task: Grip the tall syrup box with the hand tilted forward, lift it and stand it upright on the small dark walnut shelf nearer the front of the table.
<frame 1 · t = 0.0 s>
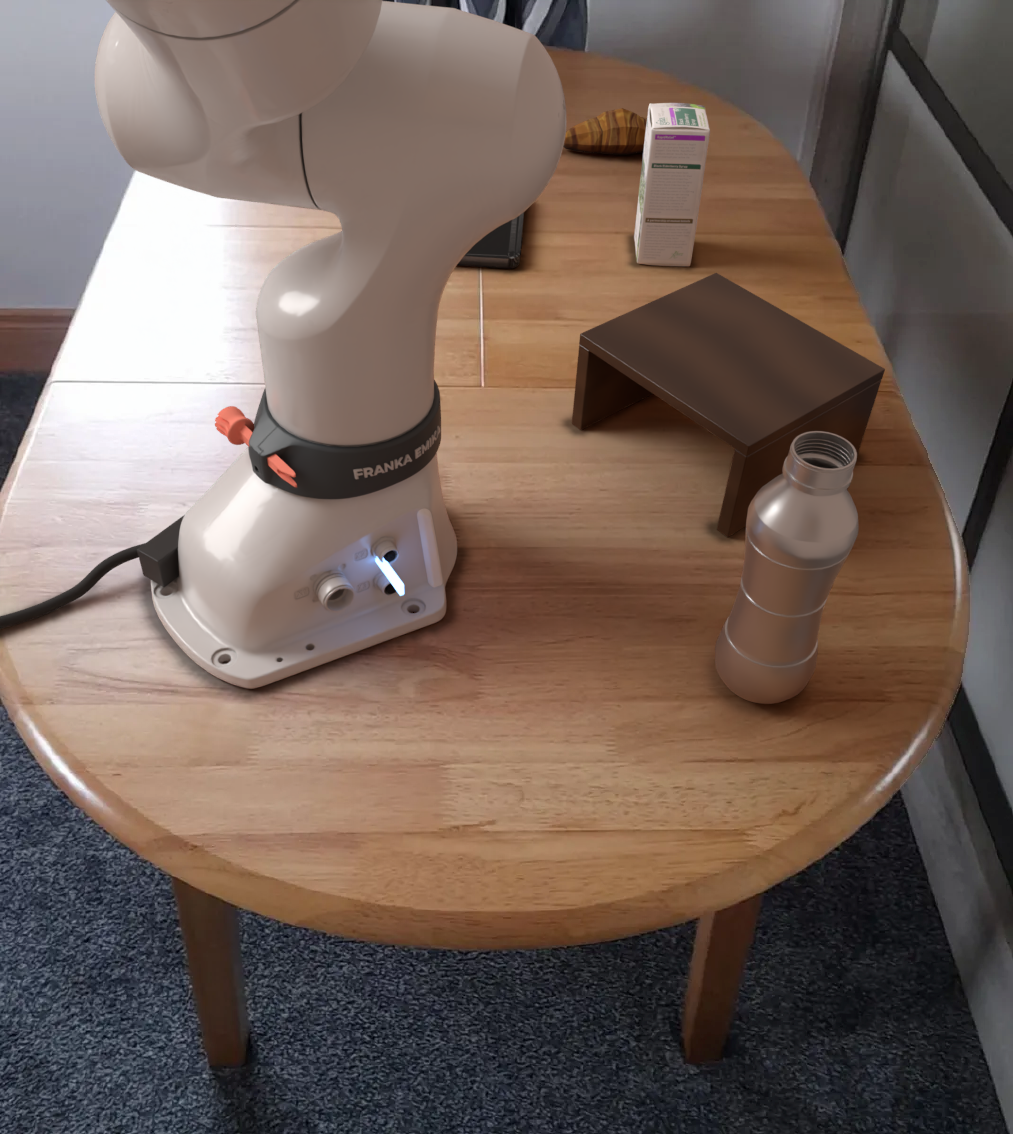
shelf: (712, 440, 98), on the table
syrup box: (660, 254, 121), on the table
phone: (485, 232, 122), on the table
croissant: (617, 151, 138), on the table
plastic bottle: (757, 681, 80), on the table
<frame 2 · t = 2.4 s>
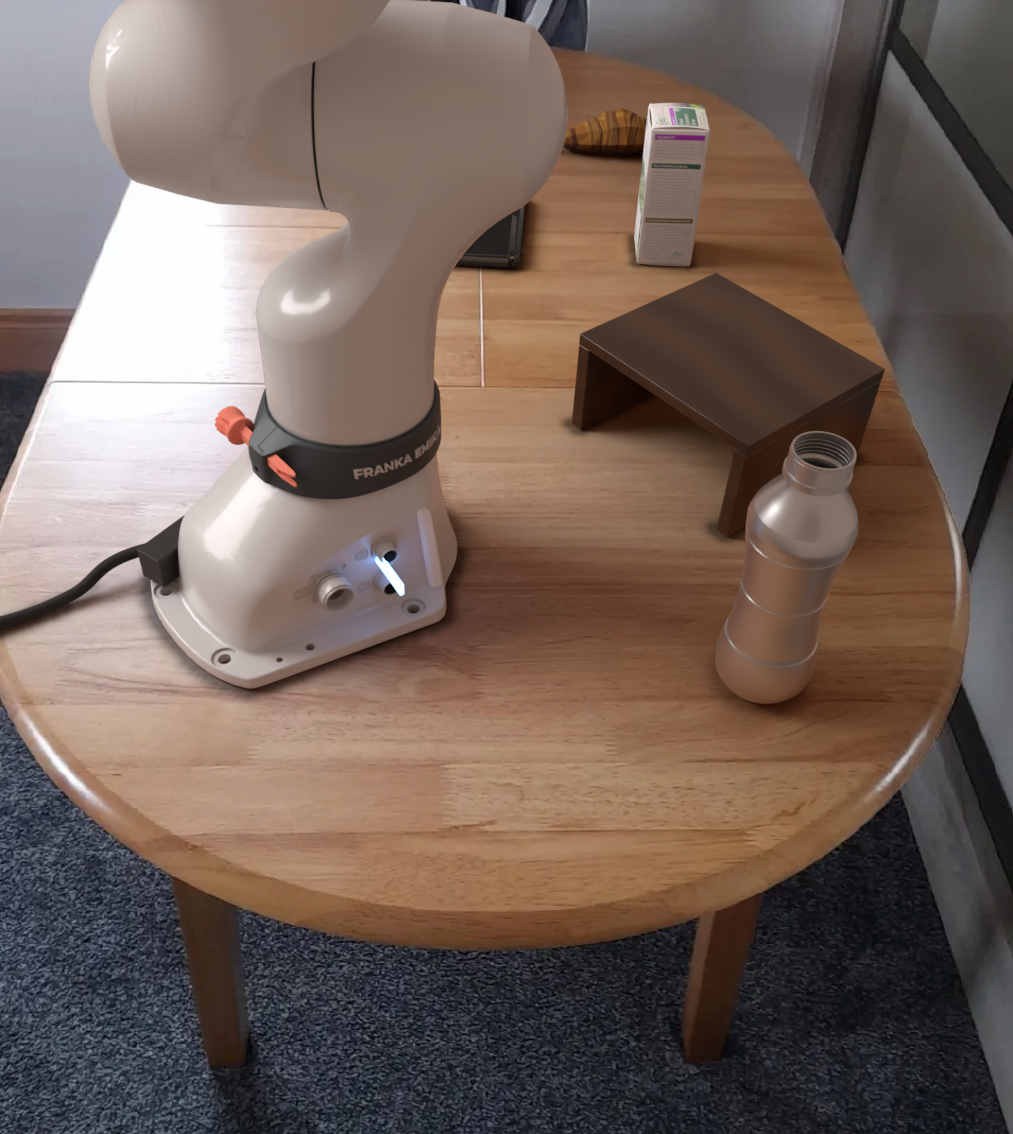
nothing on the table moved.
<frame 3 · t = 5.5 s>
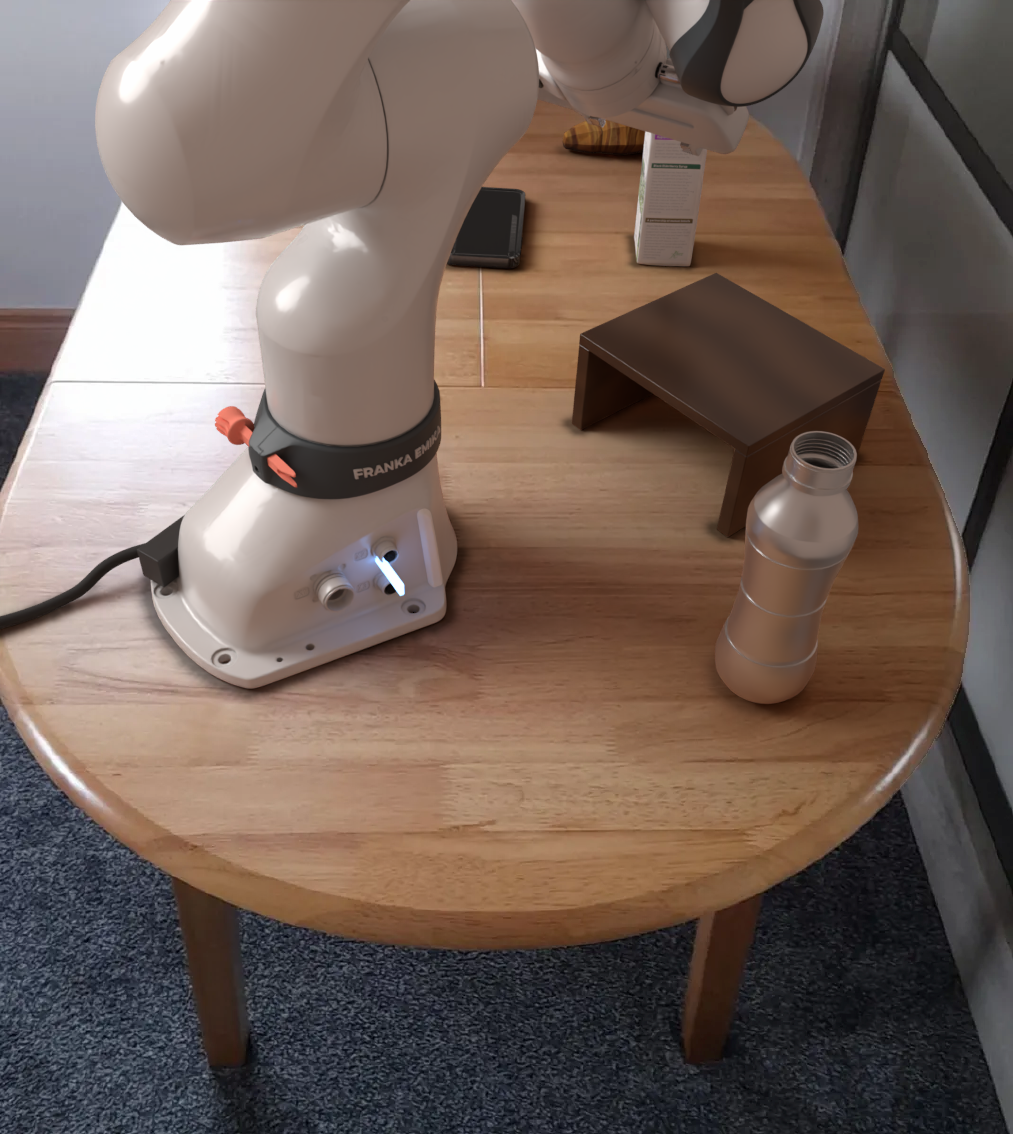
hand: (646, 131, 103), 17 cm above the table, tool tilted 45°, fingers open, 8 cm apart
nothing on the table moved.
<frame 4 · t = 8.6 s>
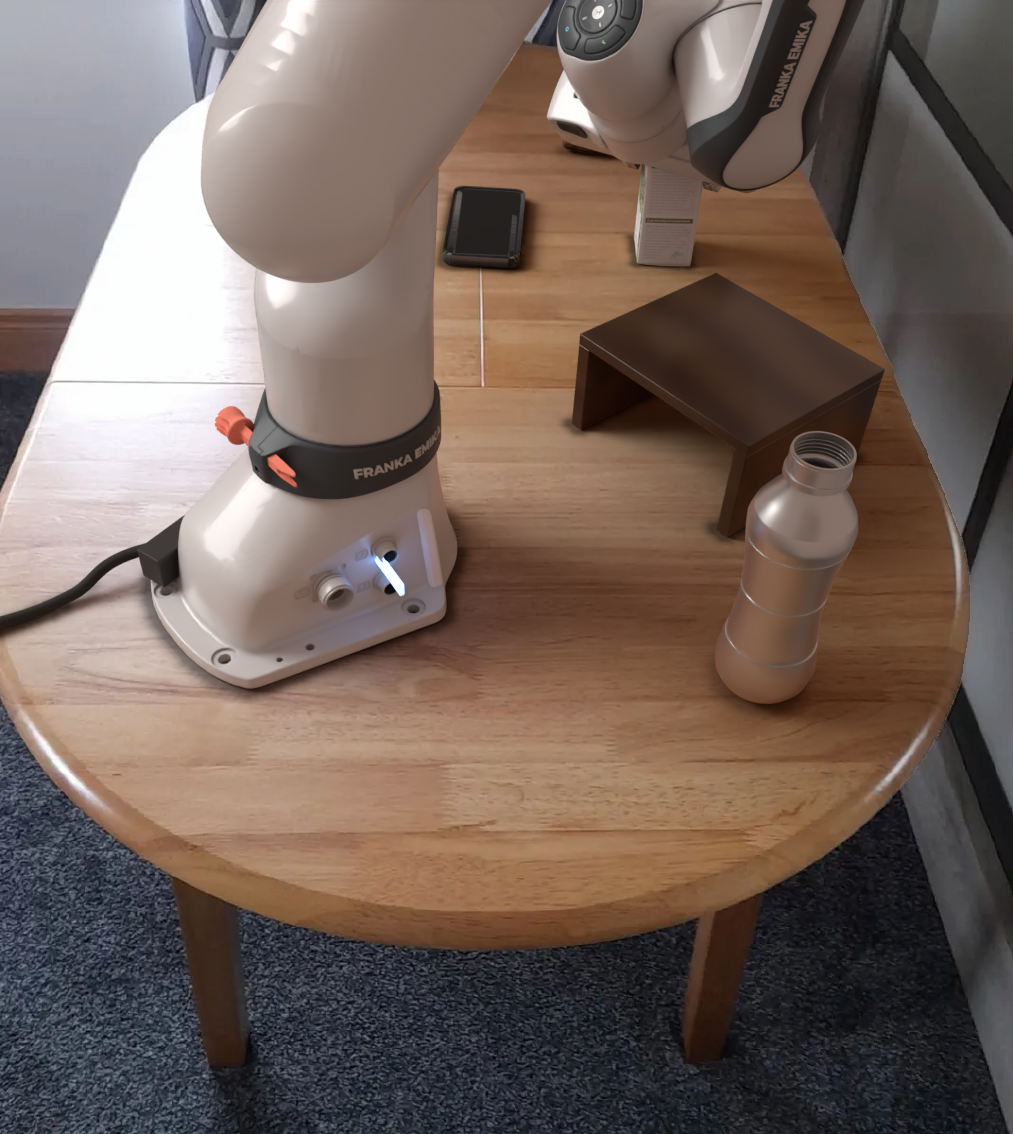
hand: (673, 172, 115), 8 cm above the table, tool tilted 45°, fingers closed on syrup box, 7 cm apart
syrup box: (660, 254, 121), on the table, touching gripper
everything else where it was.
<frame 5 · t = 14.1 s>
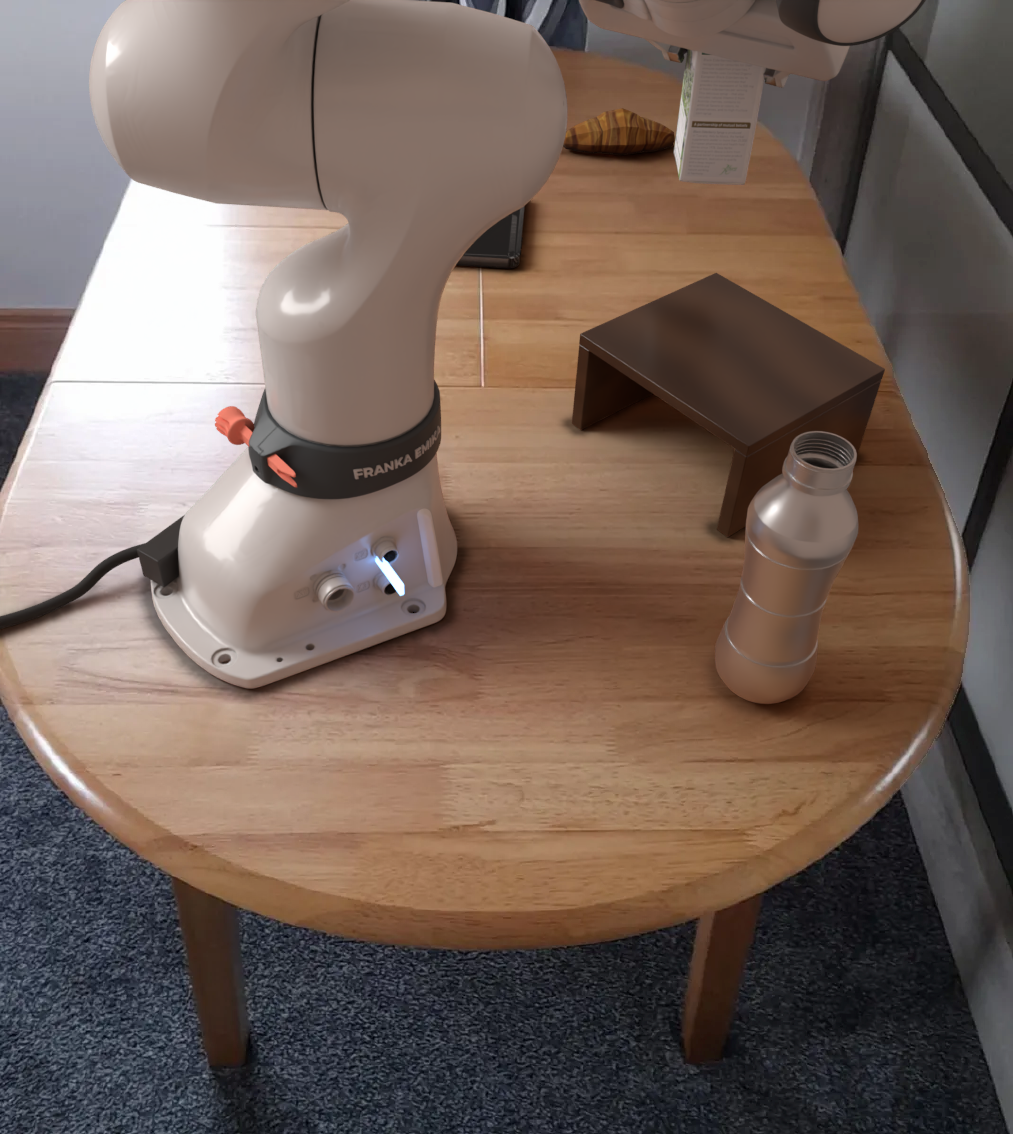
hand: (726, 65, 93), 25 cm above the table, tool tilted 45°, fingers closed on syrup box, 7 cm apart
syrup box: (707, 171, 98), point 16 cm above the table, touching gripper
everything else where it was.
when the fingers open (18 cm above the table, at t = 19.6 s): syrup box stays where it is, resting on shelf.
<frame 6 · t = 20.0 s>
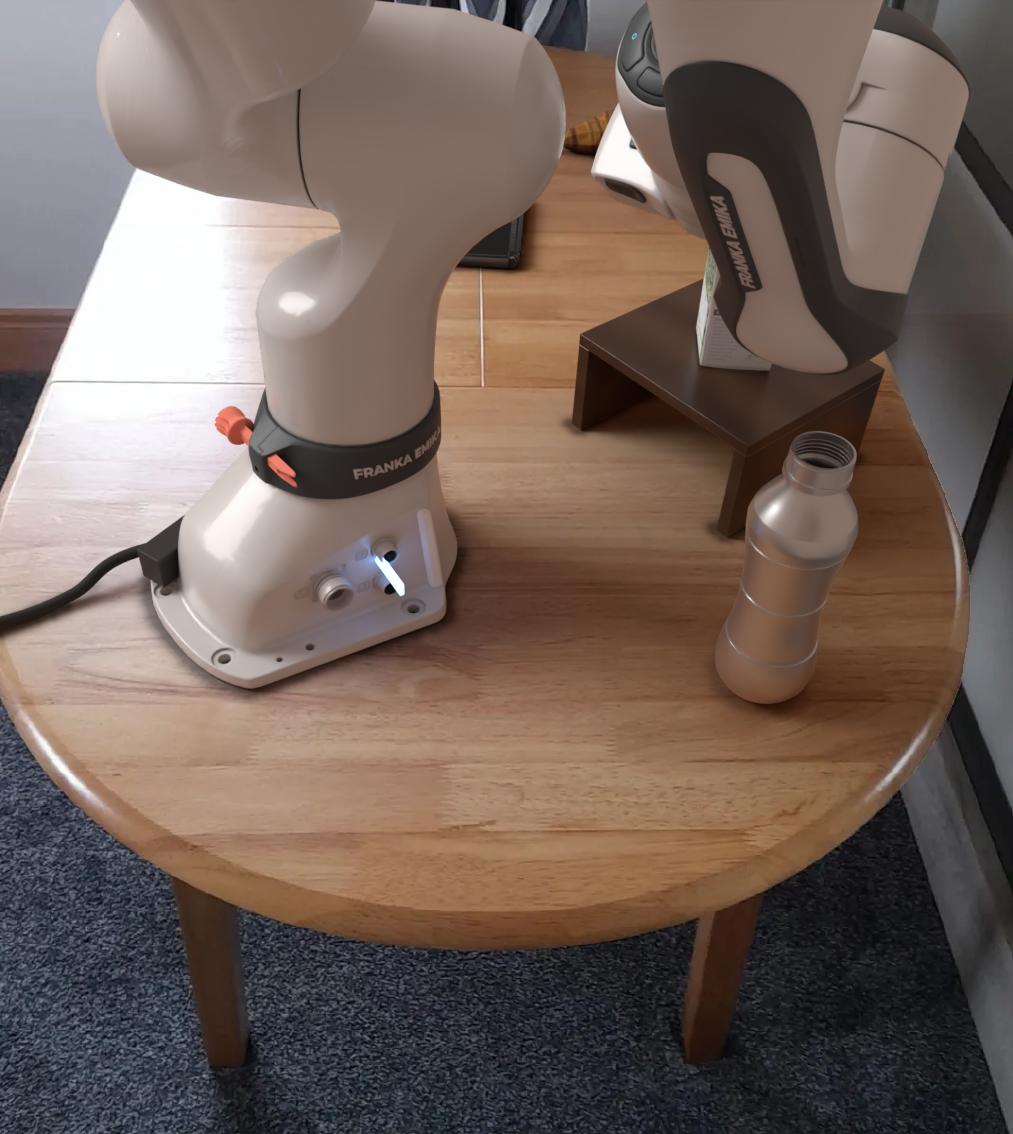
hand: (755, 241, 86), 18 cm above the table, tool tilted 45°, fingers open, 8 cm apart
syrup box: (730, 351, 92), point 9 cm above the table, touching shelf
everything else where it was.
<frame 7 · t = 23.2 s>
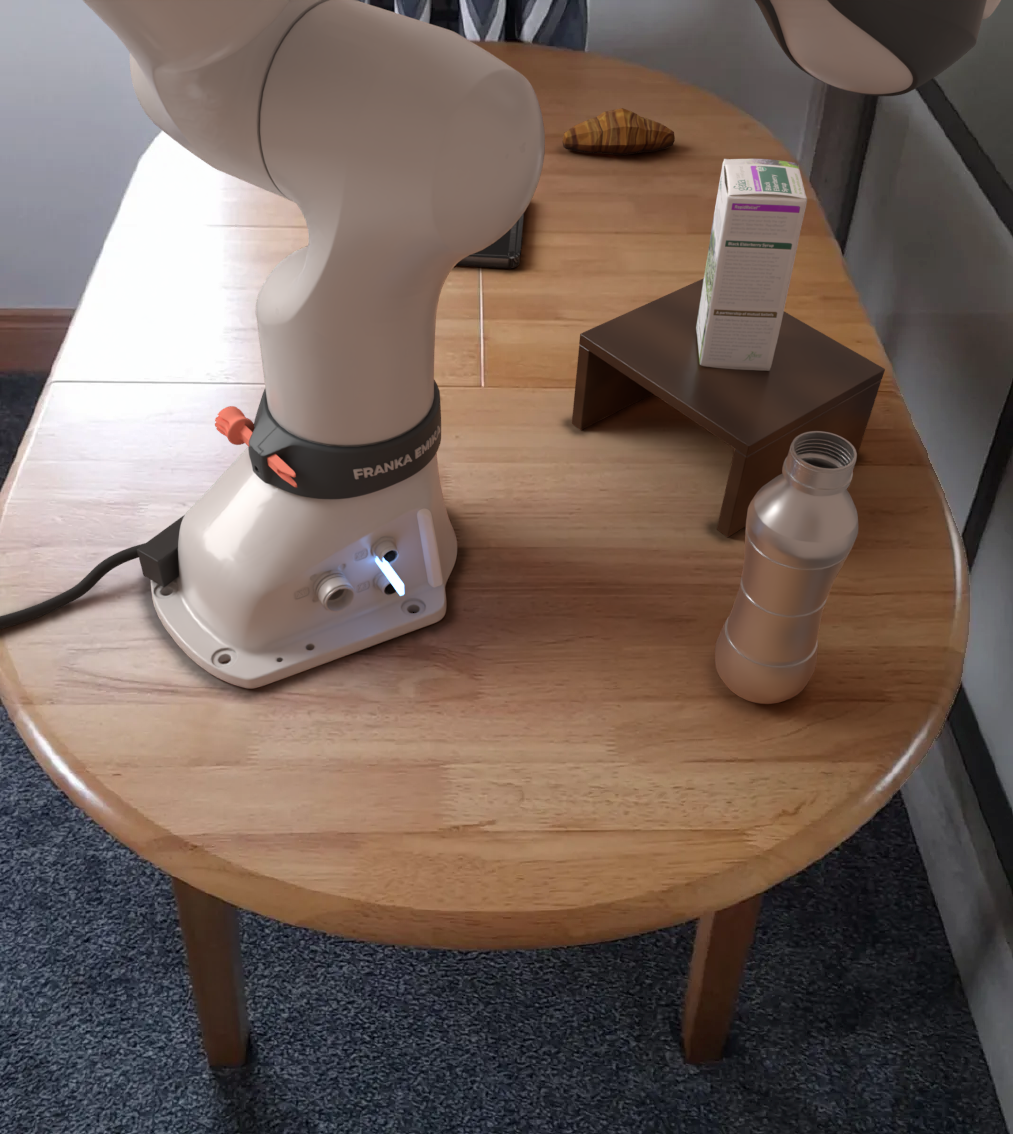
nothing on the table moved.
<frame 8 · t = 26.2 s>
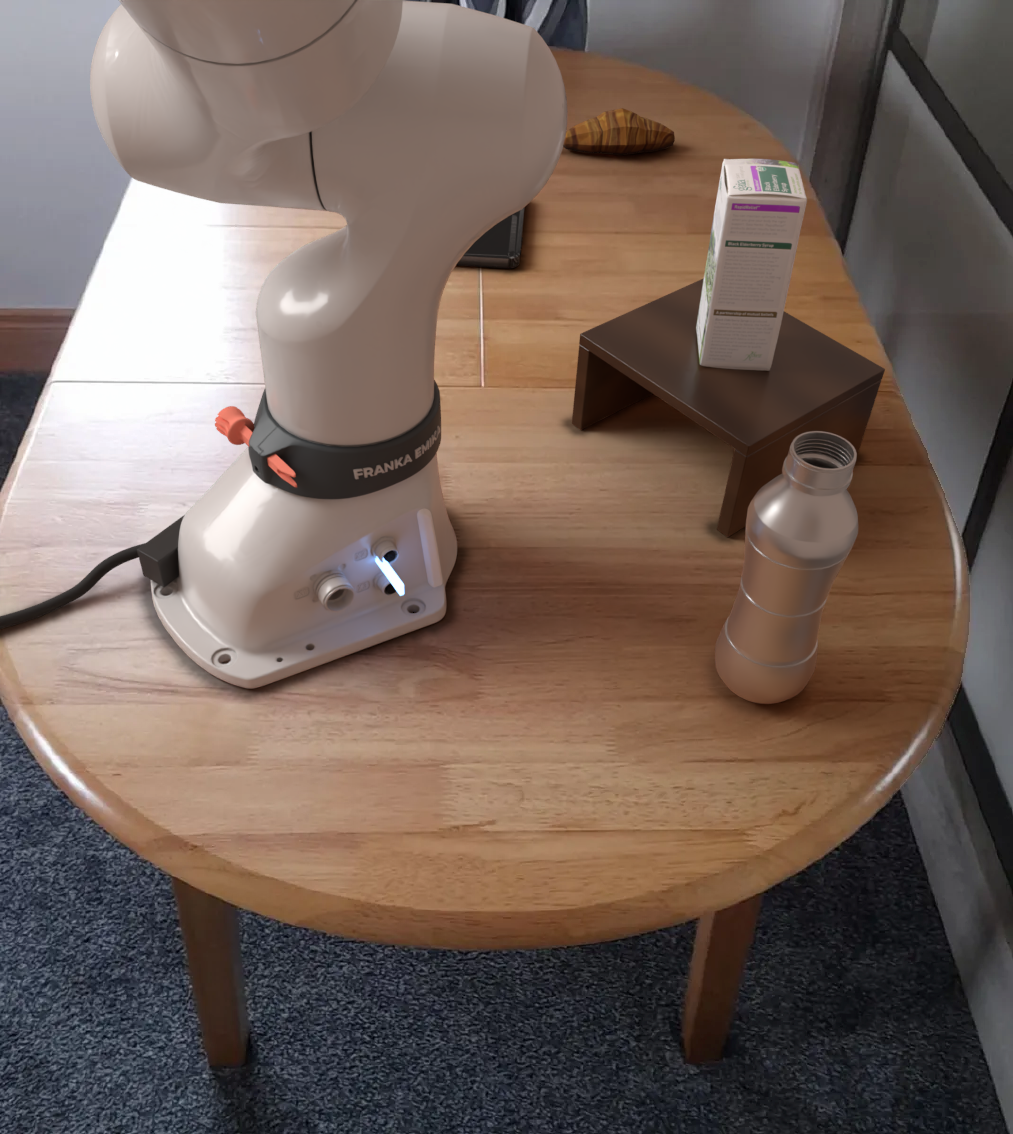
nothing on the table moved.
at the end: syrup box inside the target area on the shelf (0.1 cm from its centre), point 8.8 cm above the shelf's base; syrup box tilted 0°; the gripper is holding nothing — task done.
